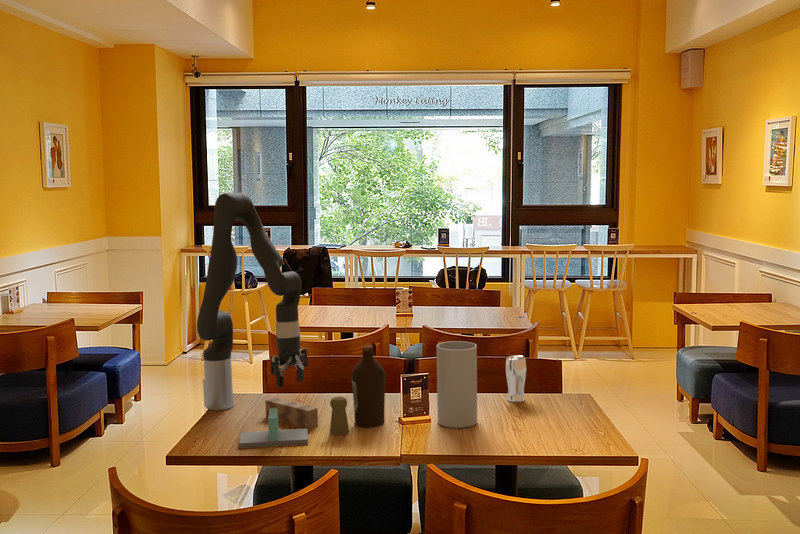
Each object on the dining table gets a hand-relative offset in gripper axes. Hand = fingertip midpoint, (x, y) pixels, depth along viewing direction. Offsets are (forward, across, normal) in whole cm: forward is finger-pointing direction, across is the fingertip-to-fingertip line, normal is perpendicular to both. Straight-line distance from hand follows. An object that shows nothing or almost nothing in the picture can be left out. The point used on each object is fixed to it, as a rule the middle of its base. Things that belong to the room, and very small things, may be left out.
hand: (290, 384), depth 254 cm
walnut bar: (+13, 0, 0) cm, 13 cm away
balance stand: (+12, +16, +9) cm, 22 cm away
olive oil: (+13, -13, +22) cm, 28 cm away
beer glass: (+13, -61, +48) cm, 78 cm away
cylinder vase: (+13, -29, +45) cm, 55 cm away
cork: (+13, -1, +20) cm, 24 cm away
